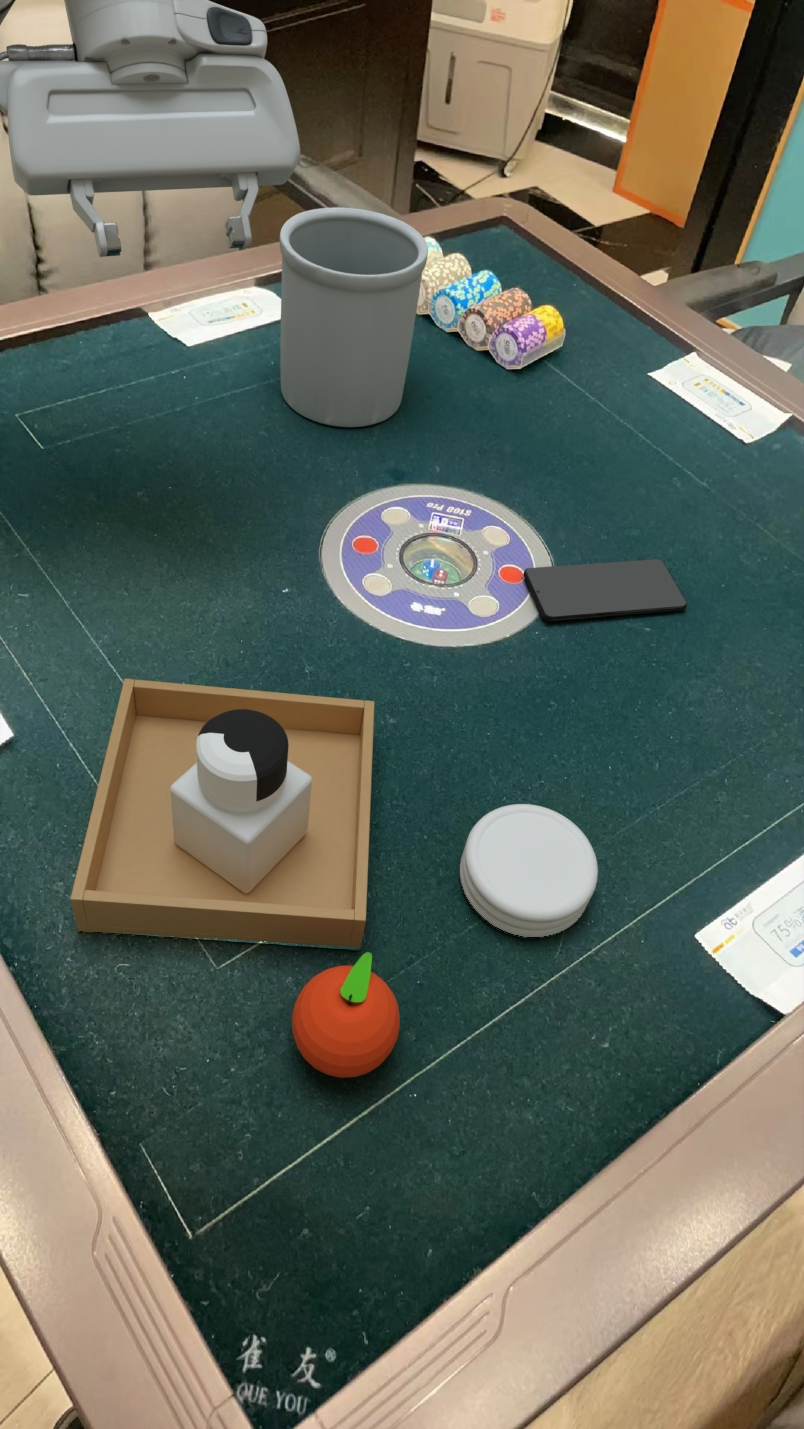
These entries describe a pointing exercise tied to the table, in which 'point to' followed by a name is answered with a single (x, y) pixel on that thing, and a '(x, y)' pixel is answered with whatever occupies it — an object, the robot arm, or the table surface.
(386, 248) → the utensil holder
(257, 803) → the medicine bottle
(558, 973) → the table surface
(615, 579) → the smartphone
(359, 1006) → the clementine
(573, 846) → the white round disc
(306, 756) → the bin
